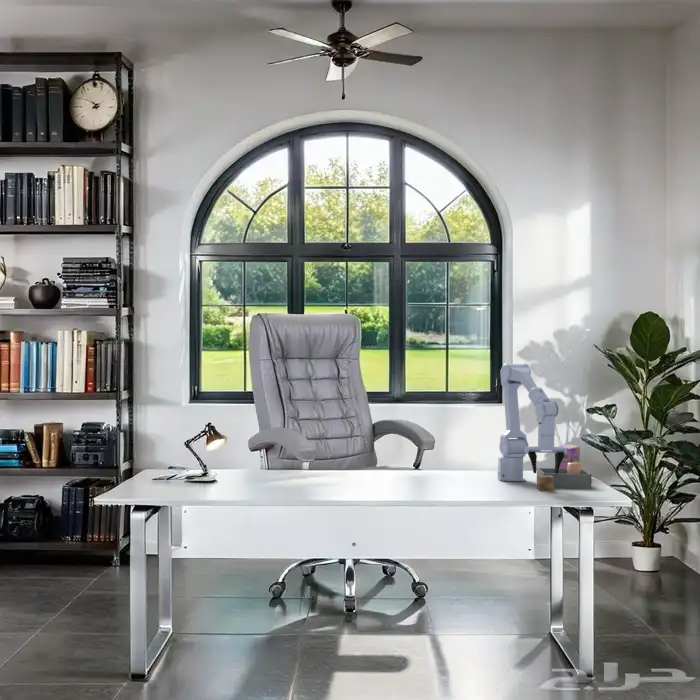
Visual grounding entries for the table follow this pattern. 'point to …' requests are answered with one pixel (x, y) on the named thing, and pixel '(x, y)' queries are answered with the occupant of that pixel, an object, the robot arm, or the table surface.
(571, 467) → the terracotta cylinder
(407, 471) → the table surface
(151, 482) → the table surface
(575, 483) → the tote
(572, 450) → the box
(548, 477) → the walnut cube
